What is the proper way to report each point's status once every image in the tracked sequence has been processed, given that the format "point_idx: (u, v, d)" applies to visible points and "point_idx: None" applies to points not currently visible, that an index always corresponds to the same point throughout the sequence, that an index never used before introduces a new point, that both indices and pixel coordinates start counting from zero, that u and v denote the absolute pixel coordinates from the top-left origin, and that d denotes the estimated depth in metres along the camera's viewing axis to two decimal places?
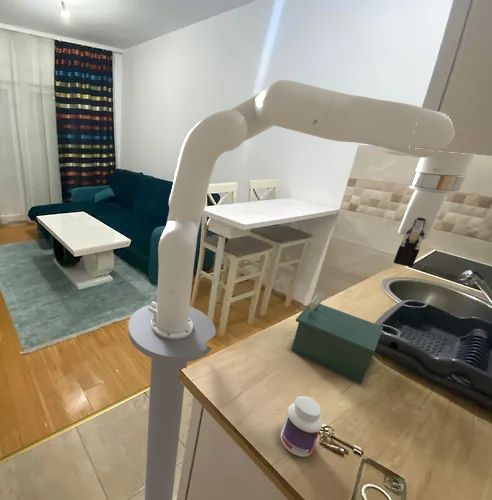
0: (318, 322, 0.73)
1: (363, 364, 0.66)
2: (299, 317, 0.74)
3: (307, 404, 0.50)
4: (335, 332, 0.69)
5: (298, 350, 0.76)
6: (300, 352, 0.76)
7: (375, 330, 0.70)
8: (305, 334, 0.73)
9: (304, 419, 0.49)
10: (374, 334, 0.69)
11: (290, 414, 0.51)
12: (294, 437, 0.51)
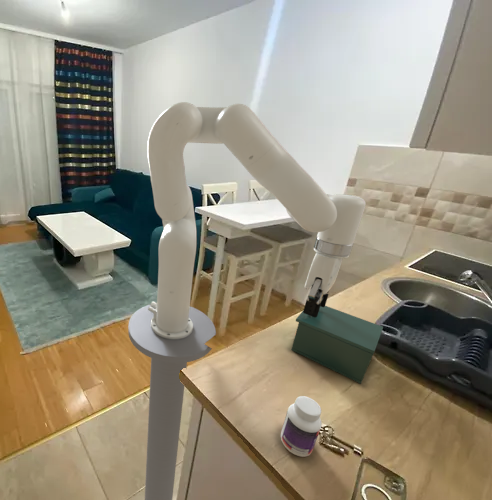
0: (318, 322, 0.73)
1: (363, 364, 0.66)
2: (299, 317, 0.74)
3: (307, 404, 0.50)
4: (335, 332, 0.69)
5: (298, 350, 0.76)
6: (300, 352, 0.76)
7: (375, 330, 0.70)
8: (305, 334, 0.73)
9: (304, 419, 0.49)
10: (374, 334, 0.69)
11: (290, 414, 0.51)
12: (294, 437, 0.51)
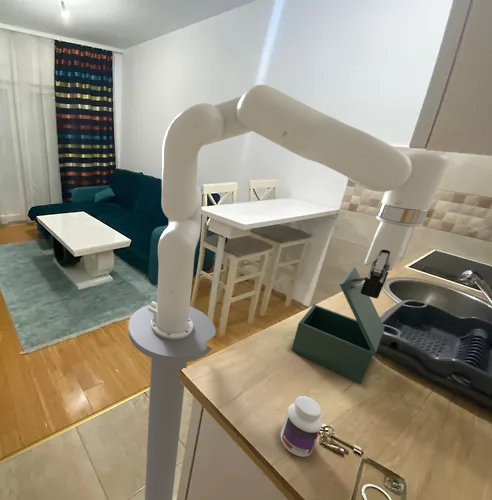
0: (354, 298, 0.66)
1: (363, 364, 0.66)
2: (345, 283, 0.65)
3: (307, 404, 0.50)
4: (361, 317, 0.65)
5: (298, 350, 0.76)
6: (300, 352, 0.76)
7: (380, 329, 0.69)
8: (305, 334, 0.73)
9: (304, 419, 0.49)
10: (379, 333, 0.68)
11: (290, 414, 0.51)
12: (294, 437, 0.51)
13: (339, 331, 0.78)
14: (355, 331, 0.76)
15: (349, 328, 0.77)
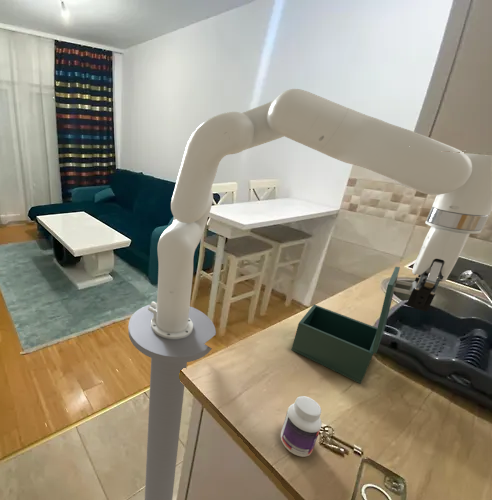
0: (389, 301, 0.61)
1: (363, 364, 0.66)
2: (393, 285, 0.59)
3: (307, 404, 0.50)
4: (384, 320, 0.62)
5: (298, 350, 0.76)
6: (300, 352, 0.76)
7: (383, 331, 0.69)
8: (305, 334, 0.73)
9: (304, 419, 0.49)
10: (382, 334, 0.68)
11: (290, 414, 0.51)
12: (294, 436, 0.51)
13: (339, 331, 0.78)
14: (355, 331, 0.76)
15: (349, 328, 0.77)
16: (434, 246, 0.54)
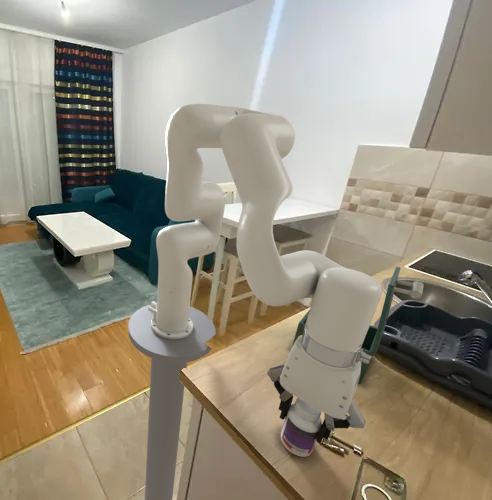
0: (390, 301, 0.61)
1: (363, 364, 0.66)
2: (394, 285, 0.59)
3: (307, 404, 0.50)
4: (384, 320, 0.62)
5: None
6: None
7: (383, 331, 0.69)
8: None
9: (304, 419, 0.49)
10: (382, 334, 0.68)
11: (290, 414, 0.51)
12: (294, 437, 0.51)
13: None
14: None
15: None
16: None
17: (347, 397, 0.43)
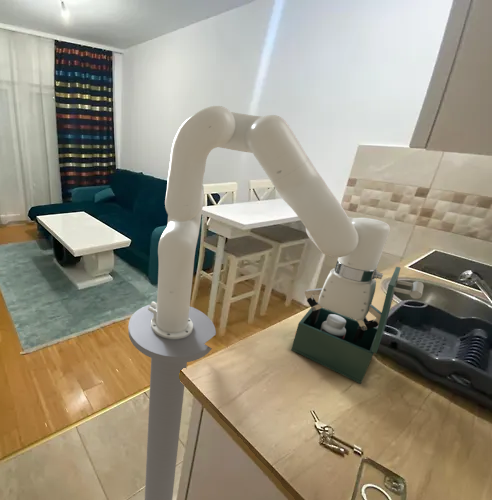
0: (390, 301, 0.61)
1: (363, 364, 0.66)
2: (394, 285, 0.59)
3: (336, 318, 0.73)
4: (384, 320, 0.62)
5: (298, 350, 0.76)
6: (300, 352, 0.76)
7: (383, 331, 0.69)
8: (305, 334, 0.73)
9: (334, 327, 0.72)
10: (382, 334, 0.68)
11: (323, 326, 0.74)
12: None
13: None
14: (355, 331, 0.76)
15: (349, 328, 0.77)
16: None
17: (367, 303, 0.66)
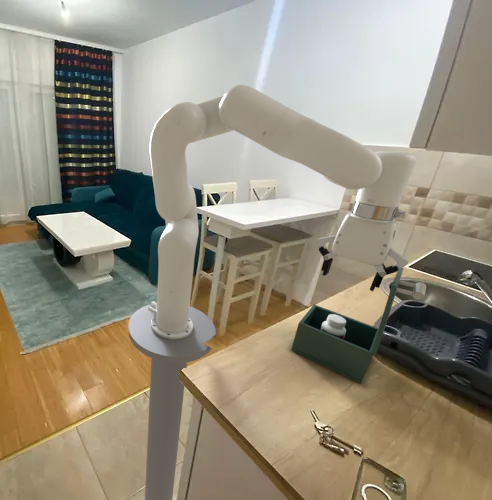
0: (392, 302, 0.61)
1: (363, 364, 0.66)
2: (397, 286, 0.59)
3: (336, 318, 0.73)
4: (386, 321, 0.61)
5: (298, 350, 0.76)
6: (300, 352, 0.76)
7: (383, 331, 0.69)
8: (305, 334, 0.73)
9: (334, 327, 0.72)
10: None
11: (323, 326, 0.74)
12: None
13: None
14: (355, 331, 0.76)
15: (349, 328, 0.77)
16: None
17: (387, 244, 0.61)
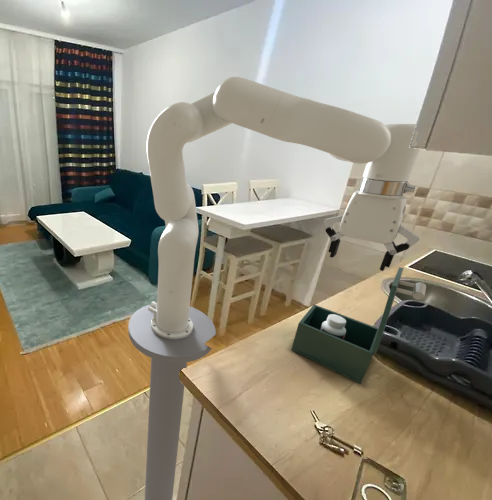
0: (392, 302, 0.61)
1: (363, 364, 0.66)
2: (397, 286, 0.59)
3: (336, 318, 0.73)
4: (386, 321, 0.61)
5: (298, 350, 0.76)
6: (300, 352, 0.76)
7: (383, 331, 0.69)
8: (305, 334, 0.73)
9: (334, 327, 0.72)
10: None
11: (323, 326, 0.74)
12: None
13: None
14: (355, 331, 0.76)
15: (349, 328, 0.77)
16: None
17: (397, 221, 0.59)
